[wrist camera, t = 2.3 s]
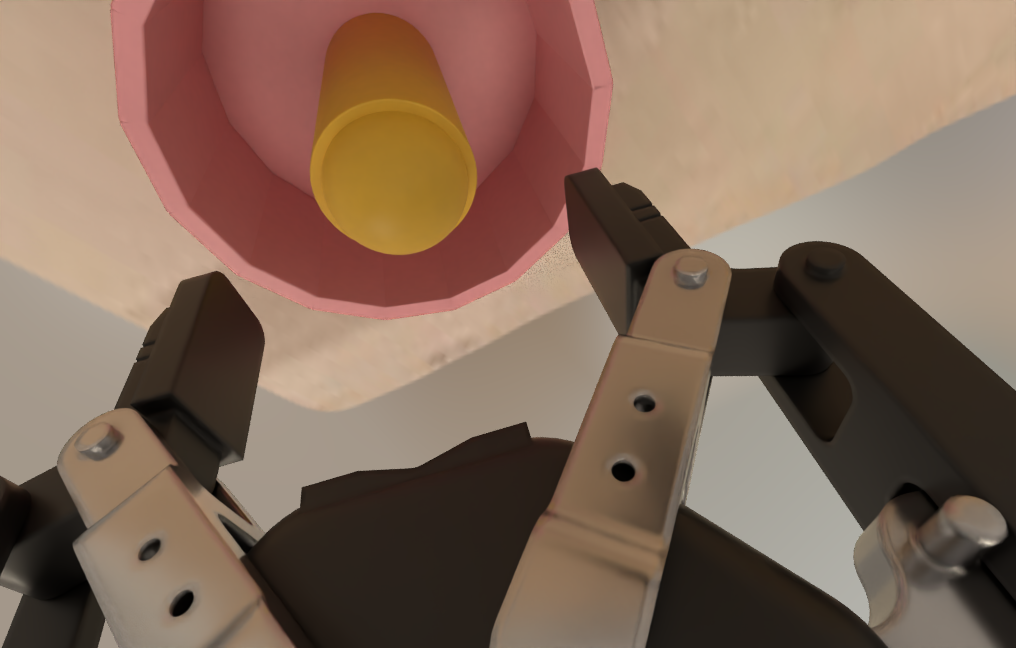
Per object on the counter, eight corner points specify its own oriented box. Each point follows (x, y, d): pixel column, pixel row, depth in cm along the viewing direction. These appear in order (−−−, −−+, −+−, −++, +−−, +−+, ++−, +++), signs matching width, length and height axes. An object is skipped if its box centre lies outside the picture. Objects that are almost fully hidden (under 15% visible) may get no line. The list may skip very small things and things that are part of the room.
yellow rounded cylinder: (311, 15, 19) (277, 140, 11) (433, 9, 20) (488, 121, 11) (339, 136, 22) (330, 302, 14) (443, 126, 23) (492, 279, 15)
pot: (98, -168, 15) (-42, -177, 10) (558, -166, 17) (649, -173, 12) (261, 237, 25) (236, 342, 20) (540, 205, 27) (585, 291, 22)
